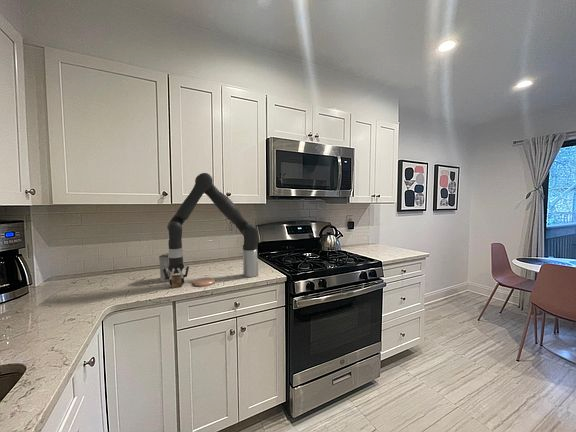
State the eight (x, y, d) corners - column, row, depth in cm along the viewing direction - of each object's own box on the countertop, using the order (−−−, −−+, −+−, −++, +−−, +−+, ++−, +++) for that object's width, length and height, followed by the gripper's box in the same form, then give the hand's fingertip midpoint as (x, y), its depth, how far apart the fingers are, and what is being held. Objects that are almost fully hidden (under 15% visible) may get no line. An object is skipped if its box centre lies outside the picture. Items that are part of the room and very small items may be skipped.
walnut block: (181, 284, 150) (181, 274, 150) (181, 287, 146) (181, 277, 145) (172, 285, 149) (172, 275, 148) (172, 288, 144) (171, 278, 144)
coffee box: (170, 276, 165) (168, 252, 163) (178, 277, 163) (177, 252, 162) (160, 281, 156) (159, 255, 154) (169, 282, 154) (168, 256, 153)
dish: (213, 278, 160) (213, 276, 160) (215, 285, 149) (215, 282, 149) (193, 281, 156) (193, 278, 156) (193, 287, 145) (193, 285, 145)
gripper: (189, 253, 152) (190, 281, 153) (162, 255, 147) (163, 284, 148) (189, 256, 145) (190, 285, 146) (161, 258, 140) (162, 288, 141)
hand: (176, 284), depth 147 cm, fingers closed on walnut block, 5 cm apart
